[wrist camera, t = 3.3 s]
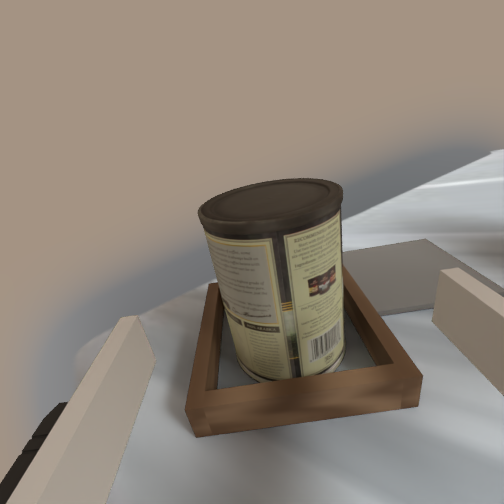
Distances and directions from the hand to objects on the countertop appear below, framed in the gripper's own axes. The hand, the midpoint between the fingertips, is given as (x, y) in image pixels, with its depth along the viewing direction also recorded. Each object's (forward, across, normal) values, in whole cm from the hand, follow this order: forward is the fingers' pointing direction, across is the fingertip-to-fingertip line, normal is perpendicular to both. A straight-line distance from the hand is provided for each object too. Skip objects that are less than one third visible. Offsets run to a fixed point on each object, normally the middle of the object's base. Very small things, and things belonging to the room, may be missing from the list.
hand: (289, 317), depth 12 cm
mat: (+18, +16, -11) cm, 26 cm away
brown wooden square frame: (+10, 0, -11) cm, 15 cm away
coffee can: (+10, 0, -11) cm, 15 cm away
